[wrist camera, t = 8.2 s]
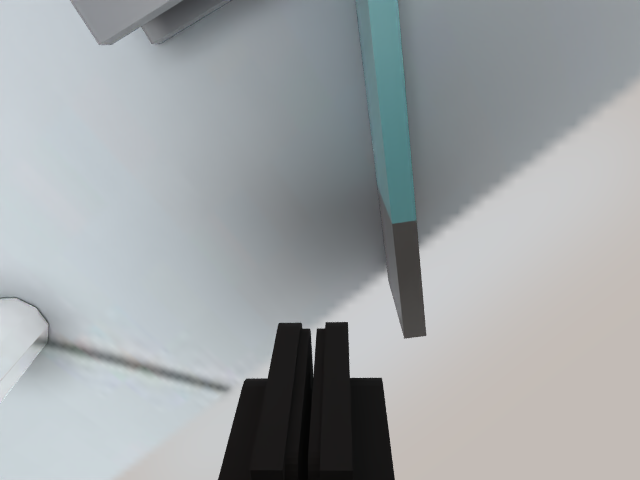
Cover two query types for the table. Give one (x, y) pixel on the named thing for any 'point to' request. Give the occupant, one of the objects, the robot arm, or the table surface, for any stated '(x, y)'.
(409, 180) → the door
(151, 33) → the camera case
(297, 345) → the robot arm
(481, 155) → the table surface
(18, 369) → the milkshake
